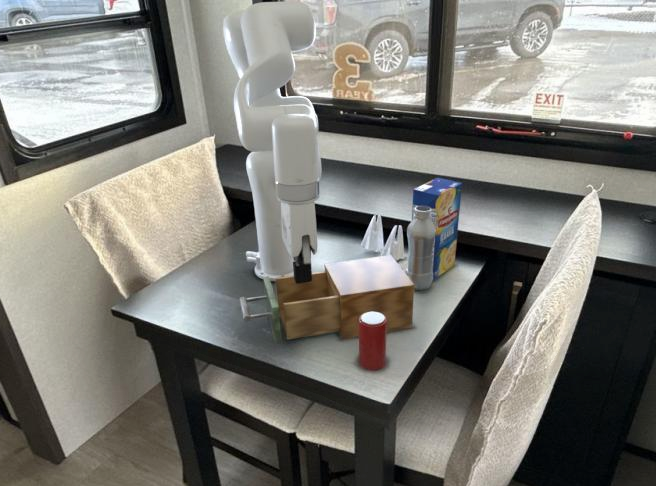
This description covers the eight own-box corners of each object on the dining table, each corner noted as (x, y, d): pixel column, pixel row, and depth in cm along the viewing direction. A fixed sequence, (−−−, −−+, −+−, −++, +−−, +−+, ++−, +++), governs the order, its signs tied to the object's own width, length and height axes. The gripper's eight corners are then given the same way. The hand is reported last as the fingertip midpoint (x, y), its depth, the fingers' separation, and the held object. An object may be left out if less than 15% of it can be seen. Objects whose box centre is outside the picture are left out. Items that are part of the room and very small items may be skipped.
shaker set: (359, 252, 151) (359, 214, 145) (368, 246, 153) (369, 209, 148) (396, 263, 144) (398, 224, 138) (405, 258, 147) (407, 219, 141)
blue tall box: (408, 273, 139) (413, 189, 128) (431, 257, 147) (437, 177, 135) (432, 280, 136) (438, 195, 124) (454, 264, 143) (462, 182, 132)
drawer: (247, 349, 111) (243, 312, 106) (241, 315, 122) (236, 280, 118) (344, 333, 115) (343, 297, 110) (329, 302, 126) (328, 268, 122)
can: (363, 372, 105) (363, 327, 100) (355, 356, 109) (355, 312, 104) (389, 367, 106) (390, 322, 101) (380, 352, 110) (381, 308, 105)
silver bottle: (431, 294, 130) (437, 214, 120) (403, 291, 131) (406, 213, 121) (433, 281, 135) (439, 204, 125) (405, 279, 137) (409, 202, 126)
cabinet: (341, 339, 115) (340, 295, 109) (325, 304, 127) (324, 263, 121) (412, 327, 118) (414, 284, 112) (389, 295, 130) (391, 254, 125)
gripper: (269, 178, 101) (276, 266, 111) (284, 206, 89) (291, 303, 99) (309, 173, 103) (313, 261, 113) (329, 201, 91) (332, 296, 100)
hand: (303, 280), depth 106 cm, fingers closed
